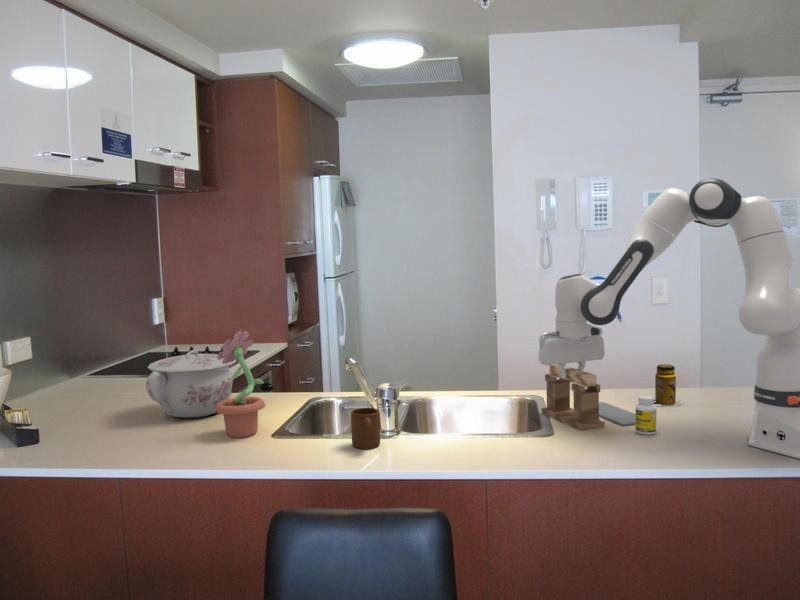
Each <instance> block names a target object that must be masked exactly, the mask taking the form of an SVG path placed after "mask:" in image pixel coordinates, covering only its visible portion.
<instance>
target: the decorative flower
mask: <svg viewBox="0 0 800 600" xmlns="http://www.w3.org/2000/svg"><path fill="white" fill-rule="evenodd" d="M249 335H250V334H249V332H248V331H246V330H245V331H244V332H243V331H238V332H236V333H235V334H234V335H233V339H232V340H231V339H227V340H225V342H224V344H223V345H222V348H221V349H222V351H219V353H218V359H219V360H220V359H222V358H223V361H222V363H223V364H225V363H229V362H233V361H234V360H235V359H236V360H237V362H238V364H239V365H240V366H239V367H238V368H237V369H236V370H235V371H234V373H232V379H235V378H237V377H238V376H239V375H240V374H241V372H242V371H243V374H244V375H245V377H246V381H247V388H246V389H245V390H242V391H241V392H240V393H239V394H237V395H236V397H232V398H231V397H230V398H229V399H226V400H223V401H220V402H219V403H217V404H216V407H215V412H217V413H216V414H221V415H223V420H224V427H225V433H226V436H228V437H230V438H234V439H235V438H238V439H239V438H247V437H252V436H254V435H255V434H256V433H257V432H258V429H259V428H258V427H259V414H258V412H259V411H260V410H263V409H264V408H265V407H266V402H265V401H264V399H262V398H261V397H256V396H249V395H251V394H252V393H253V391H254V387H255V384H257V385H262V384H265V382H264V380H263V379H261V378H254V376H253V375H252V374H253V373H252V372H251V370H250V367H249V365H248V364H247V362H246V360H245V358H244V356H245V355H246V354H247V353H248V350H247V349H248V348H250V347H252V345H253V340H252V339H249V340H247V339H248V338H249ZM246 340H247V341H246ZM224 357H225V358H224Z"/></svg>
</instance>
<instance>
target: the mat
mask: <svg viewBox="0 0 800 600" xmlns="http://www.w3.org/2000/svg"><path fill="white" fill-rule="evenodd" d="M599 418H602V419H604V420H606V421H608V422H611V423H614V424H616V425H619V426H621V427H628V426H635V422H636V413H635V412H632V411H628V410H627V409H624V408H620V407H618V406H616V405H613V404H610V403H608V402H604V401H599Z"/></svg>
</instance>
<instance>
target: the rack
mask: <svg viewBox="0 0 800 600" xmlns="http://www.w3.org/2000/svg"><path fill="white" fill-rule="evenodd" d="M544 381H545V383H546V407H541V414H543V413H544V414H543V415H545V414H546V415H545V416H547V415H548V417H549V418H552V419H554V420H556V421H558V422H561V423H563V424H565V425H567V426H569V427H571V428H574V429H576V430H577V431H587V430H592V429H599V428H605V424H606V423H605V421H604V420H601V419H600V417H599V402H600V395H599V394H600V393H601V384H598V383H596V386H590V387H586V386H583V385H580V384H577V383H574V382H573V383H572V382H571V381H568V380H565V379H562V378H559V377H556V376H553V375H550V373H545V374H544ZM570 383H571V384H570ZM570 390H571V391H572V393H573V394H572V395H573V408H572V407H571V391H570Z"/></svg>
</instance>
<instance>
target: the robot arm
mask: <svg viewBox="0 0 800 600" xmlns="http://www.w3.org/2000/svg"><path fill="white" fill-rule="evenodd" d="M692 222H694V223H696V224H700V225H704V226H708V227H712V228H722V227H725V226H727V225H729V226H730V227H731V229H732V230H733V232H734V235H735V238H736V242H737V246H738V250H739V253H740V256H741V261H742V265H743V268H744V273H745V293H744V298H743V301H742V302H741V304H740V306H739V310H738V319H739V322H740V324H741V326H742V327H743V328H744V329H745V330H746V331H747V332H749V333H751V334H754V335H759V336H764V337H765V336H767V337H766V339H765V342H764V345H762V348H761V349H760V350H759V352H758V354H757V356H756V379H755V380H756V381H755V382H756V384H755V385H754V390H753V394H754V395H753V399H754V401H755V405H754V409H753V416H752V423H751V428H750V432H749V434H748V436H747V438H748V443H747V444H748V446H752V447H755V448H758V449H762V450H766V451H770V452H773V453H777V454H780V455H784V456H787V457H791V458H792V457H793V458H795V459H800V288H796V287H795V288H789V287H790V286H789V271H790V269H791V267H792V265H793V262H794V261H793V257H792V253H791V249H790V245H789V243H788V240H787V236H786V233H785V230H784V227H783V223H782V221H781V218H780V217H779V214H778V212H777V210H776V208H775V206H774V204H773V203H772V201H771V200H770V199H769V198H767V197H765V196H761V195H753V196H748V197H742V195H741V193H739V192H738V191H737V190H736V189H735V188H733V187H732V186H731V185H730V184H729V183H728V182H726V181H724V180H723V179H720V178H716V177H709V178H705V179H702V180H700V181H698V182H697V183H696V184H695V185H694V186H693V187H692V189H691V190H690V193H689V192H687V191H685V190H683V189H680V188H677V187H676V188H675V187H670V188H667V189H665V190H663V191H661V193H660V194H659V195H658V196H657V198H655V199H654V200H653V201H652V202H651V203H650V205H648V207H647V208H646V209H645V211H644V212H643V213H642V214H641V216H640V218H638V220H637V222H636V223H635V224H634V225H635V226H634V227H633V228H632V231H631V232H630V235H629V237H628V240H627V243H626V247H625V249H624V252H623V254H622V256H621V257H620V258H619V260H618V262H617V263H616V265H615V266H614V267H613V268H612V270H611V271H610V273H609V274H608V275H607V276H606V278H605V279H604V280H603V281H602V283H599V282H596V281H594V280H592V279H591V278H588V277H587V276H586V275H584V274H582V273H575V274H570V275H566V276H563V277H561V278H559V279H558V280H557V282H556V286H555V293H554V294H555V296H554V297H555V298H554V300H555V301H554V303H555V304H554V305H555V306H554V307H555V308H556V309H555V310H556V316H555V331H551V332H548V331H547V332H544V333H542V335H541V336H539V339H538V340H539V342H538V343H539V347H538V348H539V349H538V362H539V363H540V364H541V365H544V366H549V365H554V364H558V368H559V369H560V371H561V375H562V378H564V379H566V378H569V372H566V370H565V368H564V367H566V366H567V364H570V363H577V365H578V367H577V368H576V369H577V370H581V371H584V369H585V368H586V364H587V363H586V362H591V361H601V360H603V359H604V357H605V353H606V352H605V351H606V350H605V341H604V338H603V337H602V335H603V333H604V332H603V329H602V328H601V327H598V326H605V325H608V324H611V322H614V321H615V319H616V318H617V316H618V315H619V312H620V306H621V301H622V299H623V297H624V295H625V294H626V292H627V291H628V289H629V288H630V287H631V285H632V284H633V283H634V281H635V280H636V279H637V277H638V276H639V275H640V274H641V272H642V271H643V270H644V269H645V268H646V267H647V266H648V265H650V264H651V263H652V262H653V261H655V260H656V259H657V258H659V257H660V256H661V255H662V254H663V253H664V252H665V251H666V250H667V249H668V248H669V247H670V246H671V245H672V244H673V243H674V241H676V239H677V237H679V235H680V233H681V232H682V231H683V229H684V228H686V226H687V225H689V223H692ZM588 323H589V324H588ZM594 325H595V326H594Z"/></svg>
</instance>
